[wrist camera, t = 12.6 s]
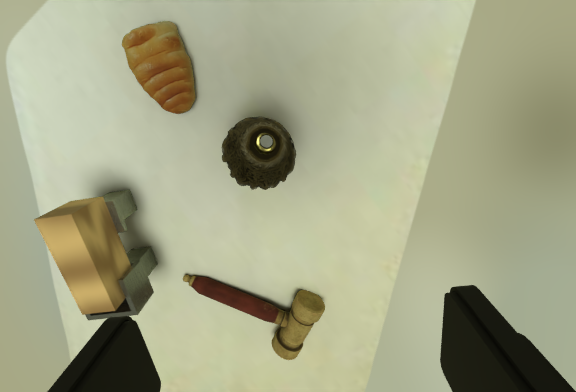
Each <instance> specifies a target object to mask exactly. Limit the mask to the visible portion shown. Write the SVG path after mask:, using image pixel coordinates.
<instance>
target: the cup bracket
mask: <svg viewBox="0 0 576 392" xmlns="http://www.w3.org/2000/svg"><path fill="white" fill-rule="evenodd" d="M127 257H128V259H129V262H130V264H131V267H130V268H129V269H128V270H127V272H126V273H125V274H124V275H123V276H122V277H121V278H120V279H119V280H118V282H119V284H120V286H121V289H122V291H123V293H124V295H125V300H124V301H123V302H122V303H121V304H120V306H119V307H118V308H117V309H116V311H109V312H100V313H92V314H85V315H86V317H87V319H88V320H95V319H104V318H110V317H121V316H131V315H138V314H139V312H140V311H141V310H142V308H143V307H144V305H145V304H146V302H147V301H148V300H149V298H150V297H151V295H152V294H153V292H154V291H153V289H152V286H151V284H150V281H149V279H148V275H149V274H150V273H151V272H152V270H153V269H154V268H155V267H156V265H157V261H156V259H155V256H154V253H153V251H152V248H151V247H144V248H137V249H131V250H130V251H129V252H128V253H127Z"/></svg>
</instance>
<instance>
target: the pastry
mask: <svg viewBox="0 0 576 392" xmlns="http://www.w3.org/2000/svg"><path fill="white" fill-rule="evenodd" d="M122 46H123V47H124V49H125V52H126V56H127V60H128V64H129V67H130V69H131V70H132V72H133V73H134V75H135V76H136V79H137V80H138V82H139V83H140V84H141V86H142V87H143V89H144V90H145V91H146V92H147V93H148V94H149V95H150V97H152V98H153V99H155V101H157V102H158V104H159V105H160V106H161V107H162V108H163V109H164V110H166V111H169V112H172V113H176V114H181V113H184V112H186V111H188V110H190V109H191V107H192V105H193V103H194V101H195V98H196V96H195V89H194V78H193V68H192V66H191V60H190V58H189V56H188V55H187V54H186V51H185V47H184V44H183V42H182V40H181V38H180V36H179V34H178V30H177V27H176V25H175V24H174V23H172V22H169V21H163V22H158V23H155V24H148V25H145V26H142V27H139V28H136V29H133V30H132V31H131V32H130V33H129V34H126V35H125V36H124V38H123V41H122Z"/></svg>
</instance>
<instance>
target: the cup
mask: <svg viewBox="0 0 576 392" xmlns="http://www.w3.org/2000/svg"><path fill="white" fill-rule="evenodd" d="M264 135H269V136H270V137H271V138H272V139H273V144H272V146H271V147H269V148H264V147H262V146H261V144H260V139H261V137H262V136H264ZM222 152H223V155H222V160H223V162H227V164H228V168H229V169H230V170H231V174H230V176H231V177H232V178H235V179H236V181H237V183H238V184H239V185H241V186H246V185H248V186H250V188H251V189H252V190H253V189H256V188H257V187H260V188H262V189H264V190H266V189H268V188H270V187H271V188H274V187H276V186H277V185H278V184H279V182H280V181H282V182H284V181H285V180H286V177H287V175H288V174H289V173H291V172H292V171H293V169H294V165H295V158H296V150H295V148H294V144H293V141H292V138H291V136H290V134H289V133H288V132H287V130H286V129H285V128H284V127H283V126H282V125H281V124H280V123H278V122H276V121H274V120H272V119H269V118H265V117H250V118H246V119H244V120H242V121H240V122H238V123H237V124H236V125H235V127H233V128H231V129H230V130H229V131H228V135H227V137H226V138H225V139H224V141H223V144H222Z"/></svg>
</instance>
